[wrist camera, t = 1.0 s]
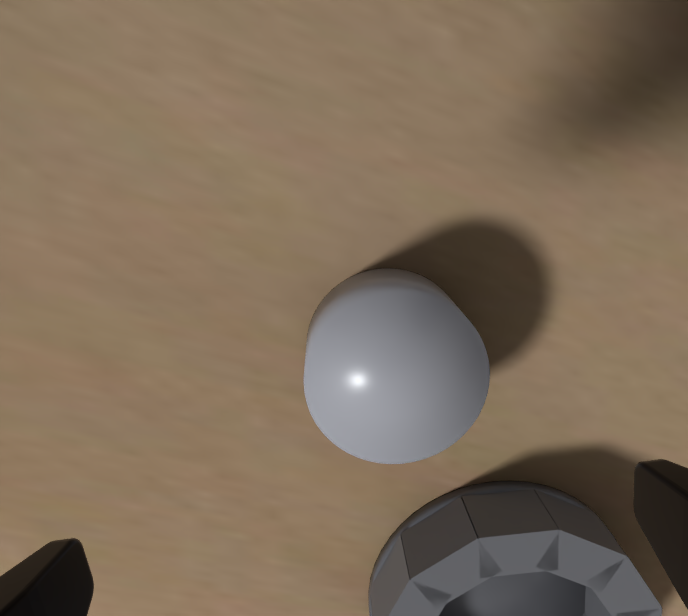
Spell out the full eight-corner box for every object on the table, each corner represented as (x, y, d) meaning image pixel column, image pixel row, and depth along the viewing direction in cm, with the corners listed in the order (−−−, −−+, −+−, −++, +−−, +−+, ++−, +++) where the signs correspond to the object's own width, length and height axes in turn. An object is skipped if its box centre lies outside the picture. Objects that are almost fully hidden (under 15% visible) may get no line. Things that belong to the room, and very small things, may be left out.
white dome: (460, 259, 20) (488, 281, 17) (465, 407, 22) (491, 454, 19) (297, 276, 20) (293, 301, 17) (315, 423, 22) (314, 472, 19)
